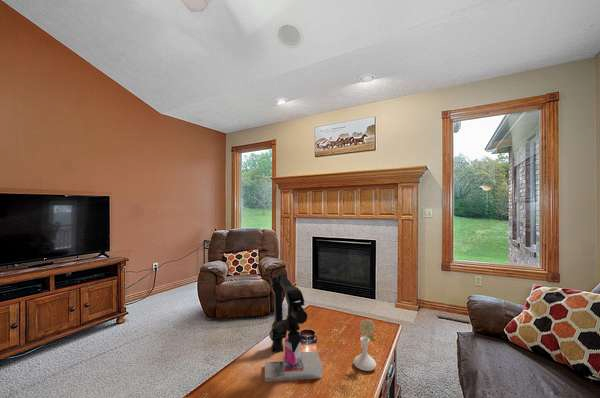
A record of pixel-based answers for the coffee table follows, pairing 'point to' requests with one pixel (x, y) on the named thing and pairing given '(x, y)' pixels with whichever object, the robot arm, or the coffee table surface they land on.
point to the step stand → (295, 368)
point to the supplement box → (292, 353)
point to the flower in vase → (365, 347)
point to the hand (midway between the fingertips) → (292, 347)
